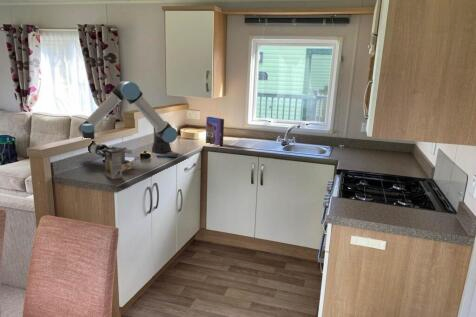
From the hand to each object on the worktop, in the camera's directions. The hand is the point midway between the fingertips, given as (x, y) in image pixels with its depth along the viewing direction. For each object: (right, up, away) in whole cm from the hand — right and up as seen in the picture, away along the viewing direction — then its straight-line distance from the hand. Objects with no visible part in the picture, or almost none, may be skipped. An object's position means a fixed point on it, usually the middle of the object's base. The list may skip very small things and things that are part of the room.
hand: (124, 154), depth 218 cm
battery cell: (-3, -8, +4) cm, 10 cm away
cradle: (-3, -9, +4) cm, 11 cm away
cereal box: (+51, +10, +92) cm, 106 cm away
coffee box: (-2, -14, -13) cm, 19 cm away
